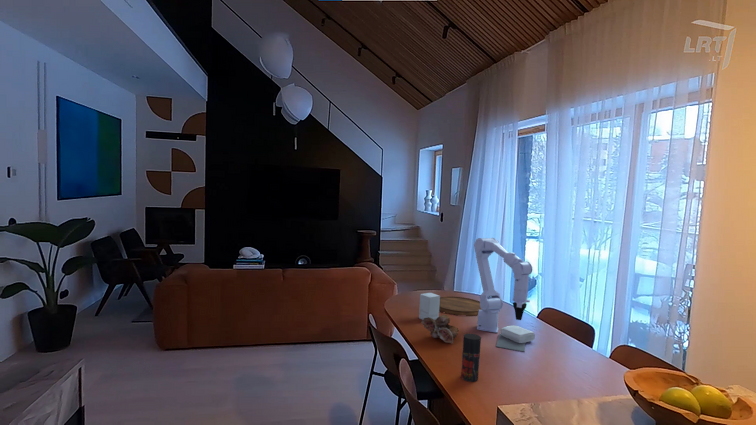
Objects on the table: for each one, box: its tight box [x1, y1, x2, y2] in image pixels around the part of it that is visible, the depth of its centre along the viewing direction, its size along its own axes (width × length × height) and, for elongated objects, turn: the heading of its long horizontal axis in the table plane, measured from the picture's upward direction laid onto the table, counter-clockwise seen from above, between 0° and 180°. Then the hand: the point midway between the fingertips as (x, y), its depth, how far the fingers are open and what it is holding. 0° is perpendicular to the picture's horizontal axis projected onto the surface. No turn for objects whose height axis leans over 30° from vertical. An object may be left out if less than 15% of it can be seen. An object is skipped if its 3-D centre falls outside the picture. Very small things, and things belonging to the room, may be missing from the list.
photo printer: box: [500, 325, 536, 344], centre depth 187 cm, size 10×4×12 cm
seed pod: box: [420, 314, 459, 345], centre depth 182 cm, size 13×16×15 cm
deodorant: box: [460, 333, 482, 383], centre depth 145 cm, size 6×6×15 cm
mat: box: [495, 333, 526, 353], centre depth 182 cm, size 12×17×1 cm
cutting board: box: [439, 295, 482, 317], centre depth 233 cm, size 32×32×2 cm
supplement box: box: [418, 292, 441, 321], centre depth 209 cm, size 7×7×13 cm
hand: (518, 319), depth 182 cm, fingers closed
